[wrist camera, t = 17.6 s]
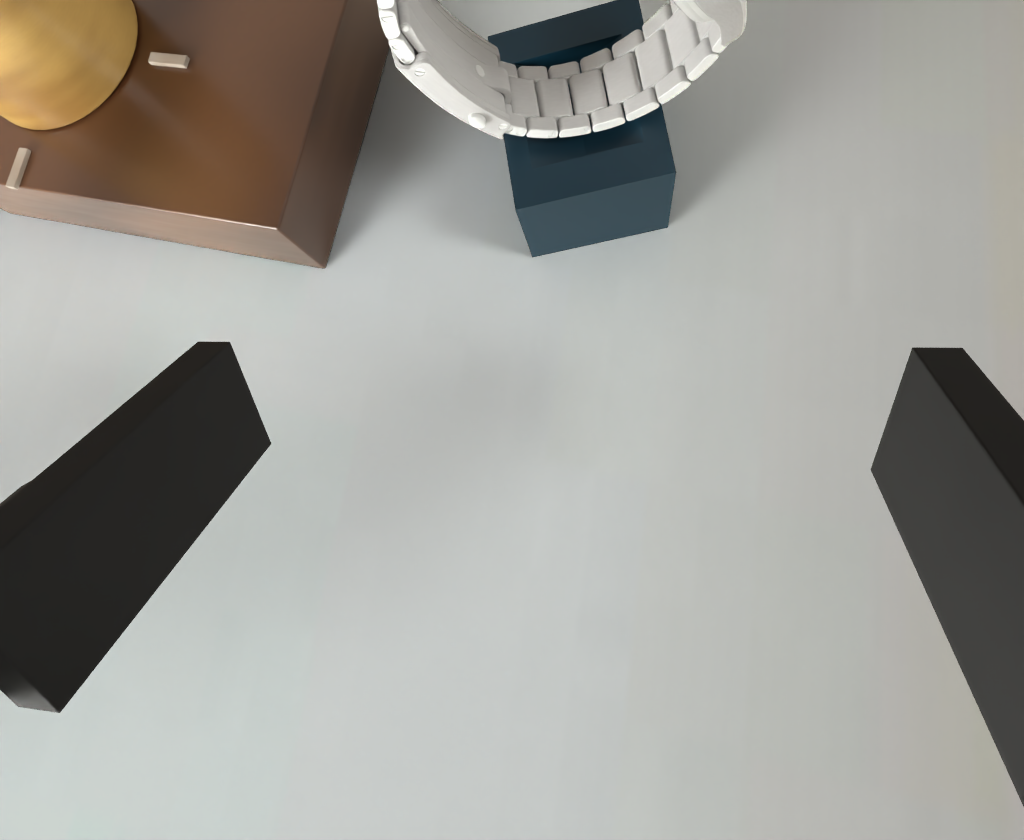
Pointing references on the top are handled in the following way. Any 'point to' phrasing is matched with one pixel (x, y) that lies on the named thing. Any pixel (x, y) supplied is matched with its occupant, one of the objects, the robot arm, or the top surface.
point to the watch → (570, 103)
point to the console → (215, 130)
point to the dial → (62, 58)
